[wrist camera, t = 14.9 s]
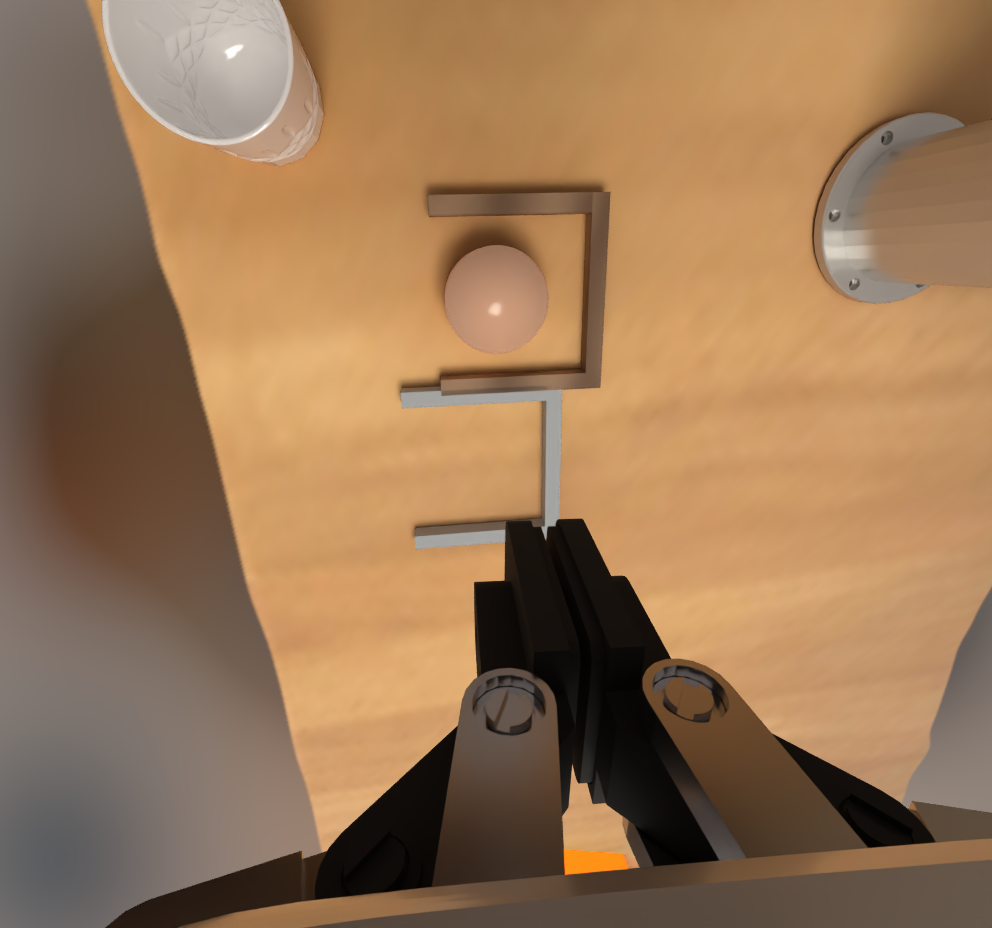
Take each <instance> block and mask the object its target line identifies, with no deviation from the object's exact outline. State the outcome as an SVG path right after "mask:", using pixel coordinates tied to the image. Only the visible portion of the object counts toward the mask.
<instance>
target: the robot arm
mask: <svg viewBox="0 0 992 928" xmlns="http://www.w3.org/2000/svg"><path fill="white" fill-rule="evenodd" d="M814 245H815V255H816V258H817V261H818V264H819V268H820V270H821V272H822V274H823V275H824V277H825V279H826V280H827V282H828V283H829V284H830V285H831V286H832V287H833V288H834V289H835V290H836V291H837V292H838V293H840V294H842V295H843V296H845V297H847V298H849V299H852V300H855V301H858V302H865V303H873V304H879V303H891V302H896V301H900V300H904V299H906V298H908V297H910V296H913V295H915V294H917V293H919V292H921V291H922V290H924V289H925V288H927V287H928V286H930V285H942V286H961V287H980V288H992V119H991V120H987V121H983V122H979V123H975V124H971V125H967V126H965V125H964V124H963V123H962V122H960V121H959V120H958V119H955V118H953V117H951V116H948V115H946V114H942V113H934V112H924V113H916V114H910V115H907V116H904V117H900V118H897V119H894V120H892V121H890V122H888V123H885V124H883V125H881V126H879V127H877V128H876V129H874V130H873V131H871V132H870V133H869V134H867V135H866V136H864V137H863V138H862V139H861V140H860V141H859V142H858V143H856V144H855V145H854V146H853V147H852V148H851V149H850V150H849V151H848V152H847V154H846V155H845V156H844V158H843V159H842V160H841V161H840V163H839V164H838V165H837V167H836V168H835V170H834V172H833V174H832V175H831V177H830V179H829V181H828V182H827V184H826V186H825V189H824V192H823V194H822V197H821V199H820V202H819V205H818V210H817V214H816V219H815V228H814ZM474 613H475V644H476V663H477V678H476V679H474V680H473V682H472V683H471V684H470V685H469V686H468V688H467V689H466V691H465V694H464V696H463V699H462V704H461V710H460V716H459V722H458V726H457V727H456V728H455V729H454V730H453V731H451V732H450V733H449V734H448V735H447V736H446V737H445V738H444V739H443V740H442V741H441V742H440V743H438V744H437V745H436V746H435V747H434V748H433V749H432V750H431V751H430V752H429V753H428V754H427V755H425V756H424V757H423V758H422V759H421V760H420V761H419V762H418V763H417V764H416V765H415V766H414V767H412V768H411V769H410V770H409V771H408V772H407V773H406V774H405V775H404V776H403V777H402V778H401V779H399V780H398V781H397V782H396V783H395V784H394V785H393V786H392V787H391V788H390V789H389V790H388V791H387V792H385V793H384V794H383V795H382V796H381V797H380V798H379V799H378V800H377V801H376V802H375V803H374V804H372V805H371V806H370V807H369V808H368V809H367V810H366V811H365V812H364V813H363V814H362V815H361V816H359V817H358V818H357V819H356V820H355V821H354V822H353V823H352V824H351V825H350V826H349V827H348V828H346V829H345V830H344V831H343V832H342V833H341V834H340V836H339V837H338V838H337V839H336V840H335V841H334V843H333V844H332V845H331V846H330V847H329V849H328V851H326V852H323V853H319V854H317V855H313V856H310V857H307V858H303V853H302V851H299V852H296V853H293V854H290V855H287V856H283V857H280V858H277V859H274V860H271V861H268V862H265V863H262V864H259V865H255V866H252V867H250V868H246V869H243V870H240V871H237V872H234V873H231V874H227V875H224V876H221V877H218V878H215V879H212V880H209V881H205V882H202V883H199V884H196V885H193V886H190V887H187V888H184V889H180V890H177V891H175V892H171V893H168V894H165V895H162V896H159V897H156V898H152V899H150V900H147V901H145V902H143V903H141V904H139V905H137V906H135V907H133V908H131V909H129V910H127V911H125V912H124V913H122V914H121V915H120V916H119V917H117V918H116V919H115V920H114V921H113V922H111V923H110V924H109V925H108V926H106V928H992V813H989V812H981V811H976V810H969V809H962V808H955V807H949V806H942V805H935V804H929V803H922V802H915V801H912V802H911V804H910V806H909V808H908V809H907V808H906V807H905V806H903V805H902V804H901V803H900V802H899V801H897V800H895V799H894V798H892V797H891V796H889V795H887V794H886V793H884V792H883V791H881V790H879V789H877V788H876V787H874V786H872V785H870V784H868V783H866V782H864V781H862V780H860V779H858V778H856V777H854V776H853V775H851V774H849V773H847V772H845V771H843V770H841V769H839V768H837V767H835V766H833V765H831V764H830V763H828V762H826V761H824V760H822V759H820V758H818V757H816V756H814V755H812V754H810V753H808V752H806V751H805V750H803V749H801V748H799V747H797V746H795V745H793V744H791V743H789V742H787V741H785V740H783V739H782V738H780V737H778V736H776V735H774V734H772V733H771V732H770V731H769V730H768V728H767V727H766V726H765V725H764V724H763V723H762V721H761V720H760V719H759V718H758V717H757V715H756V714H755V713H754V712H753V711H752V709H751V708H750V707H749V706H748V705H747V704H746V702H745V701H744V700H743V699H742V698H741V696H740V695H739V694H738V693H737V692H736V691H735V689H734V688H733V687H732V686H731V685H730V684H729V683H728V682H727V681H726V680H725V679H724V678H723V677H722V676H721V675H720V674H718V673H717V672H715V671H714V670H712V669H710V668H709V667H707V666H705V665H702V664H699V663H697V662H694V661H690V660H684V659H671V658H670V656H669V654H668V652H667V650H666V648H665V647H664V645H663V643H662V641H661V639H660V637H659V636H658V634H657V632H656V630H655V628H654V626H653V624H652V623H651V621H650V619H649V617H648V615H647V613H646V612H645V610H644V608H643V606H642V604H641V602H640V600H639V599H638V597H637V595H636V593H635V591H634V589H633V588H632V586H631V584H630V582H629V580H628V579H627V578H626V577H625V576H611V575H610V573H609V571H608V569H607V567H606V565H605V562H604V560H603V558H602V556H601V554H600V552H599V550H598V548H597V546H596V544H595V542H594V540H593V538H592V536H591V534H590V532H589V530H588V528H587V526H586V524H585V522H584V520H583V519H557V521H556V524H555V526H548V527H547V537H546V540H545V536H544V533H543V530H542V528H541V527H533V524H532V521H531V520H527V521H506V526H505V581H488V582H474ZM572 764H573V768H574V772H575V776H576V780H577V782H578V783H587V784H588V788H589V792H590V795H591V799H592V803H593V804H598V803H606V804H607V805H608V806H609V807H611V808H612V809H613V810H615V811H616V812H618V813H619V814H620V815H622V816H623V820H622V824H623V828H624V831H625V835H626V838H627V840H628V842H629V845H630V847H631V849H632V851H633V854H634V856H635V858H636V860H637V863H638V865H639V867H640V868H632V869H621V870H610V871H598V872H588V873H577V874H567V875H565V863H564V843H563V823H562V815H563V814H564V813H565V811H566V810H567V808H568V805H569V794H570V782H571V771H572Z"/></svg>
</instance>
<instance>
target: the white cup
mask: <svg viewBox="0 0 992 928" xmlns="http://www.w3.org/2000/svg"><path fill="white" fill-rule="evenodd" d="M102 20H103V28H104V34H105V39H106V43H107V46H108V49H109V52H110V55H111V58H112V60H113V63H114V65H115V67H116V69H117V71H118V73H119V75H120V77H121V79H122V81H123V82H124V84H125V85H126V87H127V88H128V90H129V91H130V93H131V94H132V95H133V97H134V98H135V99H136V100H137V102H138V103H139V104H140V105H141V106H142V107H143V108H144V109H145V110H146V111H147V112H148V113H149V114H150V115H151V116H152V117H153V118H154V119H156V120H157V121H158V122H159V123H161V124H162V125H163V126H165V127H166V128H168V129H169V130H171V131H173V132H175V133H176V134H178V135H180V136H182V137H185V138H187V139H190V140H193V141H195V142H198V143H201V144H204V145H206V146H209V147H211V148H214V149H217V150H219V151H222V152H224V153H227V154H230V155H234V156H237V157H240V158H243V159H246V160H250V161H254V162H259V163H265V164H271V165H277V166H283V165H285V164H288V163H291V162H294V161H297V160H300V159H302V158H304V156H305V155H306V154H307V153H308V152H309V150H310V149H311V148H312V147H313V146H314V145H315V143H316V142H317V141H318V139H319V135H320V130H321V126H322V121H323V117H324V111H323V105H322V99H321V94H320V88H319V84H318V82H317V80H316V79H315V77H314V74H313V71H312V68H311V65H310V63H309V61H308V58H307V56H306V54H305V52H304V49H303V47H302V45H301V43H300V41H299V39H298V37H297V35H296V33H295V31H294V29H293V27H292V25H291V23H290V21H289V19H288V17H287V15H286V13H285V11H284V9H283V7H282V5H281V3H280V1H279V0H102Z"/></svg>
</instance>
